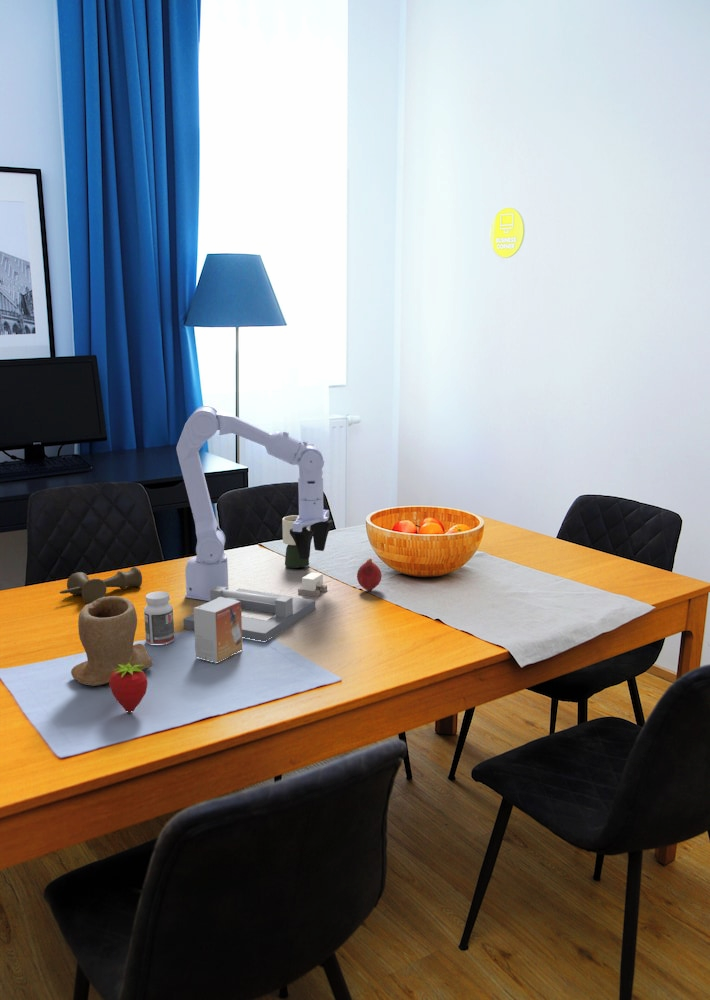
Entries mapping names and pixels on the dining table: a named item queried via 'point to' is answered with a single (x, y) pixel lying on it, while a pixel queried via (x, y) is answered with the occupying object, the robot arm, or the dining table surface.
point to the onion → (369, 575)
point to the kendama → (101, 584)
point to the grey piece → (258, 629)
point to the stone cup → (108, 640)
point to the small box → (218, 629)
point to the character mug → (292, 544)
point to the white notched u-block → (312, 585)
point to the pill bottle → (158, 618)
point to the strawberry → (128, 685)
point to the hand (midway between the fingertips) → (312, 554)
